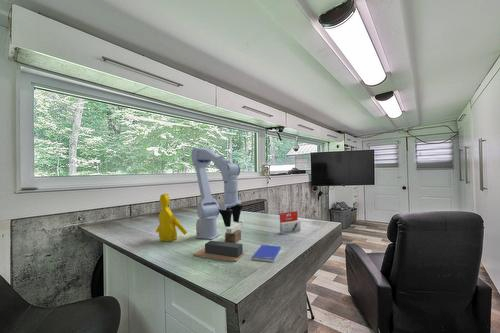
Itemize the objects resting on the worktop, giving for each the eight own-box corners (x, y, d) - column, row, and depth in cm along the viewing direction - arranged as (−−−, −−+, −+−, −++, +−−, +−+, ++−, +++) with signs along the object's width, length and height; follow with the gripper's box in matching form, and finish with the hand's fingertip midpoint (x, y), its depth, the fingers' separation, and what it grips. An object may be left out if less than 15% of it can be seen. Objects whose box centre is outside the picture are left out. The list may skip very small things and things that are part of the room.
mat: (193, 255, 81) (193, 253, 81) (203, 249, 88) (203, 247, 88) (236, 261, 74) (236, 259, 74) (244, 254, 81) (244, 252, 81)
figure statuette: (189, 238, 102) (188, 192, 102) (179, 244, 94) (178, 194, 95) (159, 236, 107) (157, 192, 108) (147, 241, 100) (146, 194, 100)
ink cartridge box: (301, 230, 108) (300, 211, 109) (282, 234, 104) (281, 214, 104) (297, 229, 111) (297, 210, 111) (279, 233, 106) (279, 213, 106)
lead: (205, 253, 82) (204, 243, 82) (210, 249, 85) (210, 240, 85) (238, 257, 76) (237, 247, 76) (242, 253, 80) (242, 244, 80)
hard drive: (274, 259, 73) (281, 246, 85) (251, 256, 76) (261, 244, 87) (274, 263, 73) (281, 250, 85) (251, 261, 76) (261, 248, 87)
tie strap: (226, 233, 94) (225, 226, 94) (238, 225, 106) (238, 220, 106) (232, 233, 93) (231, 227, 93) (244, 226, 105) (243, 220, 105)
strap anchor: (225, 242, 95) (225, 233, 95) (231, 237, 101) (231, 229, 101) (235, 243, 93) (235, 233, 93) (241, 238, 99) (240, 230, 99)
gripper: (231, 193, 81) (232, 229, 81) (246, 190, 95) (247, 220, 95) (215, 193, 84) (216, 228, 84) (232, 189, 98) (233, 219, 97)
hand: (232, 224), depth 90 cm, fingers open, 7 cm apart
